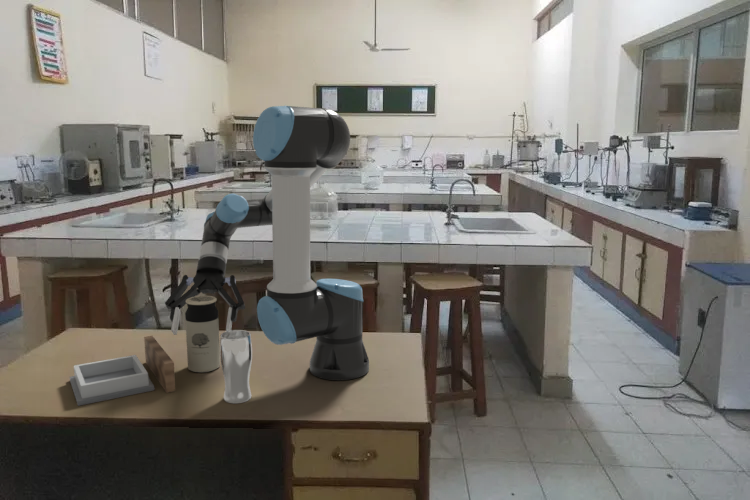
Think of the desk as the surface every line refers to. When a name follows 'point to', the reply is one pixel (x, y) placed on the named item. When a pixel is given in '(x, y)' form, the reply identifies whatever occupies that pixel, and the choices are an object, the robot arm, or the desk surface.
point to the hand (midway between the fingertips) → (201, 332)
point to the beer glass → (236, 364)
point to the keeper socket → (109, 379)
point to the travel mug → (202, 334)
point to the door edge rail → (160, 364)
